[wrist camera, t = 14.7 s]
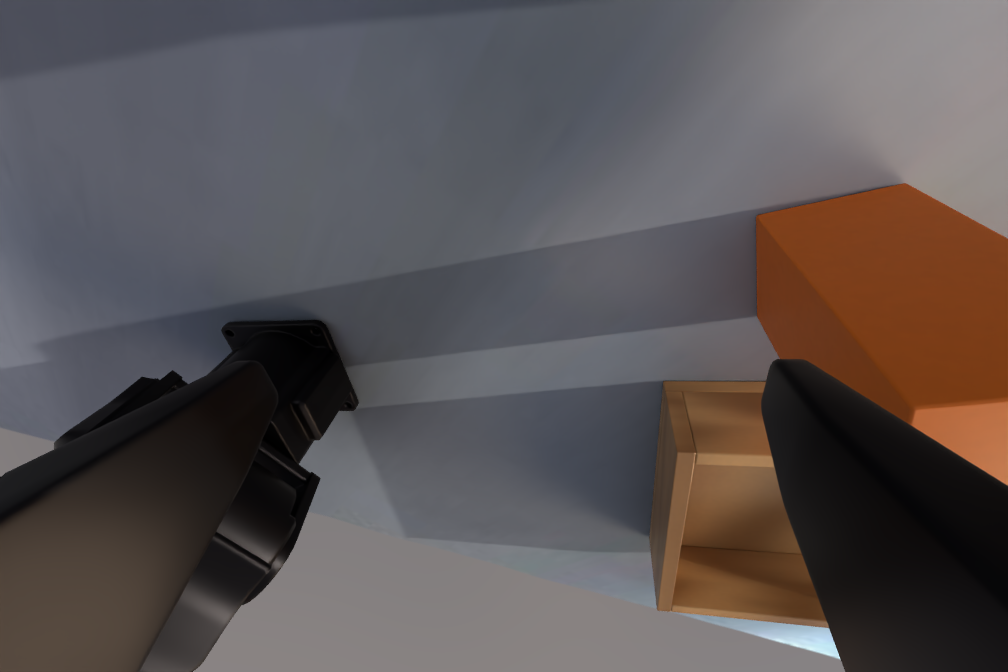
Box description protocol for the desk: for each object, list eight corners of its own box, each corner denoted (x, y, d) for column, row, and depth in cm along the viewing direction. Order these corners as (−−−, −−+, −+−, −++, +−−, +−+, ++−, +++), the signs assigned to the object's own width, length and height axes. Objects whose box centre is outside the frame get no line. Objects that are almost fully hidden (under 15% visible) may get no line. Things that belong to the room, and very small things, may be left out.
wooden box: (649, 538, 32) (657, 610, 28) (663, 380, 24) (676, 452, 20) (887, 555, 29) (933, 639, 25) (998, 381, 21) (1092, 467, 17)
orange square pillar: (756, 317, 21) (879, 545, 12) (755, 214, 18) (911, 408, 9) (887, 296, 19) (1139, 540, 10) (906, 182, 17) (1265, 375, 8)
